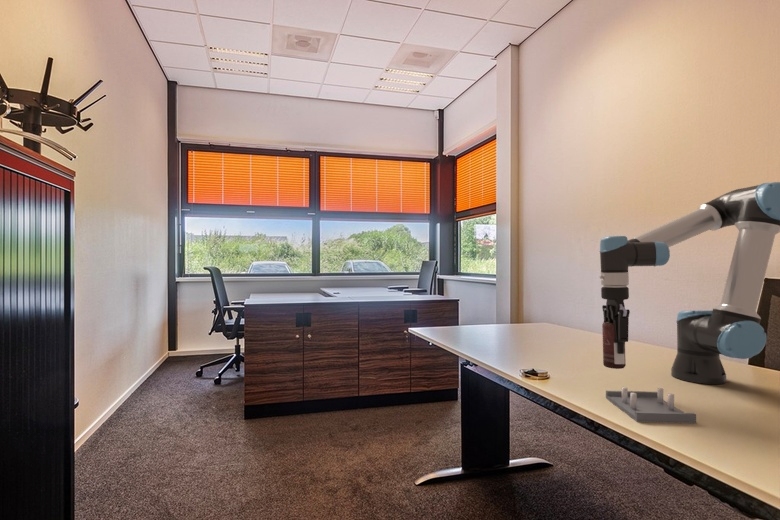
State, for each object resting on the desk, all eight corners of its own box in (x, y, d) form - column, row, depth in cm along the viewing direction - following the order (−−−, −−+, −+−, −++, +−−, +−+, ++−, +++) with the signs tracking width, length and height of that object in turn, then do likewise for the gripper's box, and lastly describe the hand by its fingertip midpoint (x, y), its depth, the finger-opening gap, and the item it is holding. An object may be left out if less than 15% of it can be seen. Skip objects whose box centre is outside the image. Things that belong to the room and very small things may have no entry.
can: (618, 370, 127) (617, 323, 127) (599, 365, 133) (598, 321, 133) (630, 367, 130) (629, 321, 130) (610, 363, 136) (609, 319, 136)
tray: (656, 399, 122) (656, 382, 122) (696, 423, 104) (696, 402, 104) (605, 398, 123) (605, 380, 123) (636, 421, 105) (636, 401, 105)
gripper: (591, 284, 139) (593, 356, 139) (613, 288, 123) (615, 369, 123) (615, 284, 138) (617, 356, 138) (640, 287, 122) (642, 369, 122)
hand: (616, 362), depth 130 cm, fingers open, 3 cm apart
